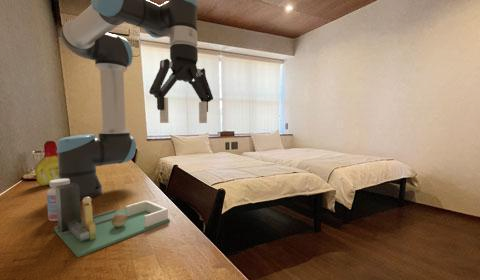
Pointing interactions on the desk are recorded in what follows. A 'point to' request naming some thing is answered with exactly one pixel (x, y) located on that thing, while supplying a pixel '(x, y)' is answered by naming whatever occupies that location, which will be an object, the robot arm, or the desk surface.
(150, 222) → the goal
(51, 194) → the pill bottle
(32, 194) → the desk surface
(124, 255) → the desk surface
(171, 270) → the desk surface
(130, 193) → the desk surface
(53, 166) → the bottle
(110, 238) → the board
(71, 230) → the block
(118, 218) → the ball
